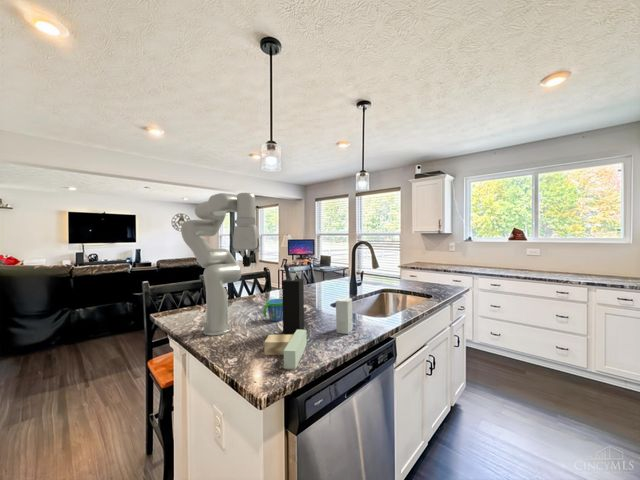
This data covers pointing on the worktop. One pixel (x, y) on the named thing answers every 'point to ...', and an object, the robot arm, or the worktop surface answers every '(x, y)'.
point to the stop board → (295, 349)
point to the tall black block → (293, 305)
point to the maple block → (276, 344)
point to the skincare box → (344, 315)
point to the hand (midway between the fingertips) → (246, 266)
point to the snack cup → (274, 309)
